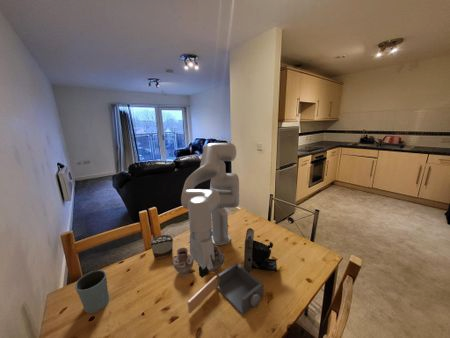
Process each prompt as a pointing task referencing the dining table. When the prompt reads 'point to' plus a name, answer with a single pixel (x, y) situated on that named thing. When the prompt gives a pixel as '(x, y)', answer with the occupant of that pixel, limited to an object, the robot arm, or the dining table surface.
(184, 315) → the dining table surface
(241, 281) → the grey open drawer box
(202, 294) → the door
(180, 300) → the dining table surface
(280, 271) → the dining table surface
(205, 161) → the robot arm
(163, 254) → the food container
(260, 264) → the vintage camera
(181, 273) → the pottery
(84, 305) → the grey green cup
